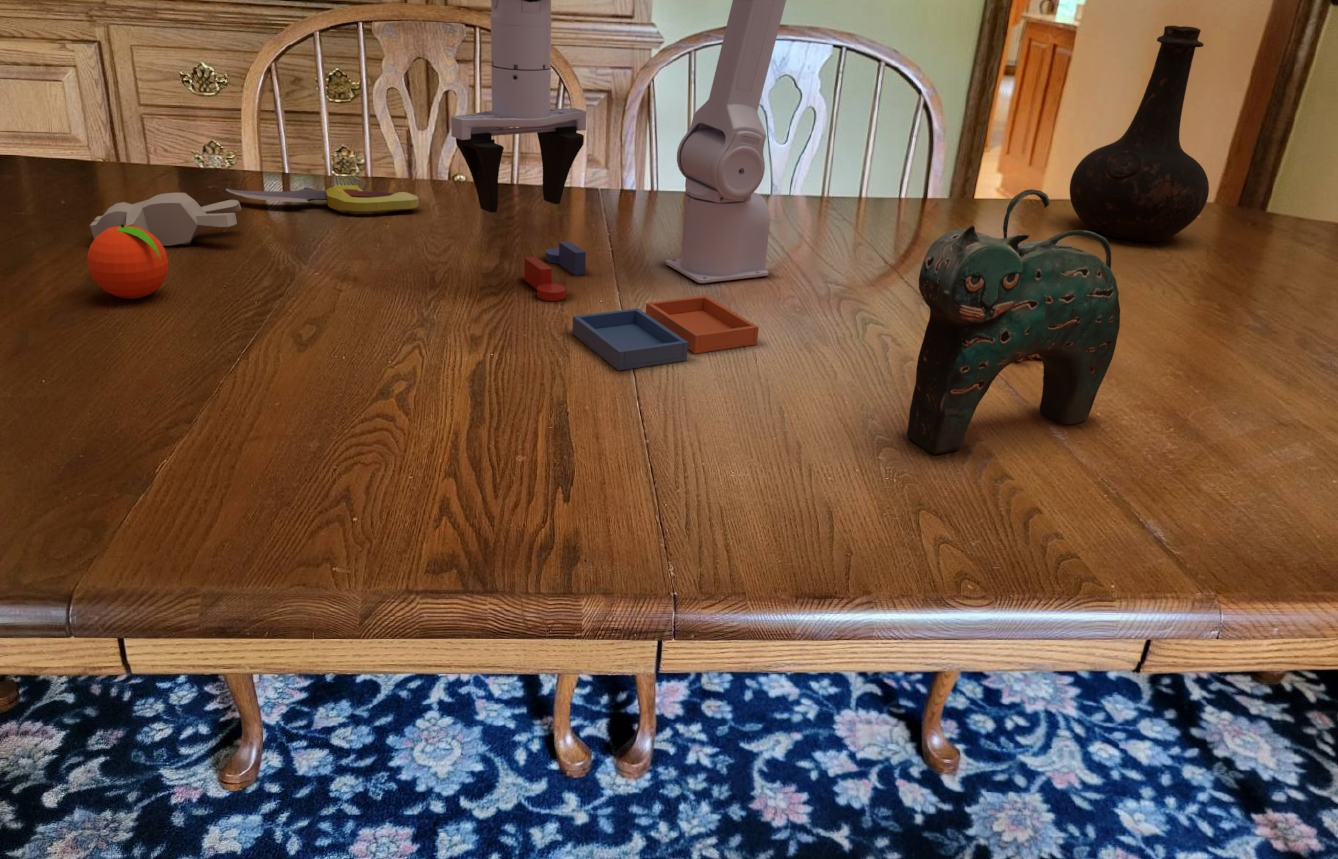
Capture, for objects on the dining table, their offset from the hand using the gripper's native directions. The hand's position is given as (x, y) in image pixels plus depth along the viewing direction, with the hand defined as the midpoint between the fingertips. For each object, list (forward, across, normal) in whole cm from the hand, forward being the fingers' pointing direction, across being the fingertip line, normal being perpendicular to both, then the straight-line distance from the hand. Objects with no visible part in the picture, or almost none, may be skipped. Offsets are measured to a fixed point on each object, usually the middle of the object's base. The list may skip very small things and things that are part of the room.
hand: (521, 206), depth 108 cm
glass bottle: (+9, -89, +21) cm, 92 cm away
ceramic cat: (+9, -14, +49) cm, 52 cm away
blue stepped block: (+9, -9, -4) cm, 14 cm away
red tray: (+9, -8, +20) cm, 23 cm away
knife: (+9, +4, -41) cm, 42 cm away
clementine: (+9, +34, -16) cm, 38 cm away
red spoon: (+9, -2, +1) cm, 9 cm away
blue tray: (+9, 0, +19) cm, 21 cm away
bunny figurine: (+9, +25, -33) cm, 43 cm away
